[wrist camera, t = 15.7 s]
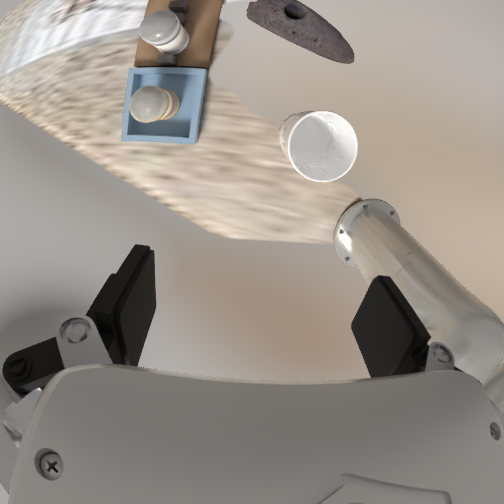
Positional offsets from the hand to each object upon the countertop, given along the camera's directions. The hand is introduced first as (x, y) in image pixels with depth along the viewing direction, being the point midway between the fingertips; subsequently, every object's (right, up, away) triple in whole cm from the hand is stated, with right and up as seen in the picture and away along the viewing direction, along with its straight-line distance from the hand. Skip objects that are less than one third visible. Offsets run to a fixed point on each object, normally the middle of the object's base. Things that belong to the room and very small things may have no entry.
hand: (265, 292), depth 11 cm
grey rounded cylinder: (-10, +28, +14) cm, 33 cm away
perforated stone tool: (+6, +31, +16) cm, 35 cm away
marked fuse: (-12, +21, +20) cm, 31 cm away
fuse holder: (-10, +32, +14) cm, 37 cm away
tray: (-12, +21, +20) cm, 32 cm away
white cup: (+6, +18, +24) cm, 30 cm away
